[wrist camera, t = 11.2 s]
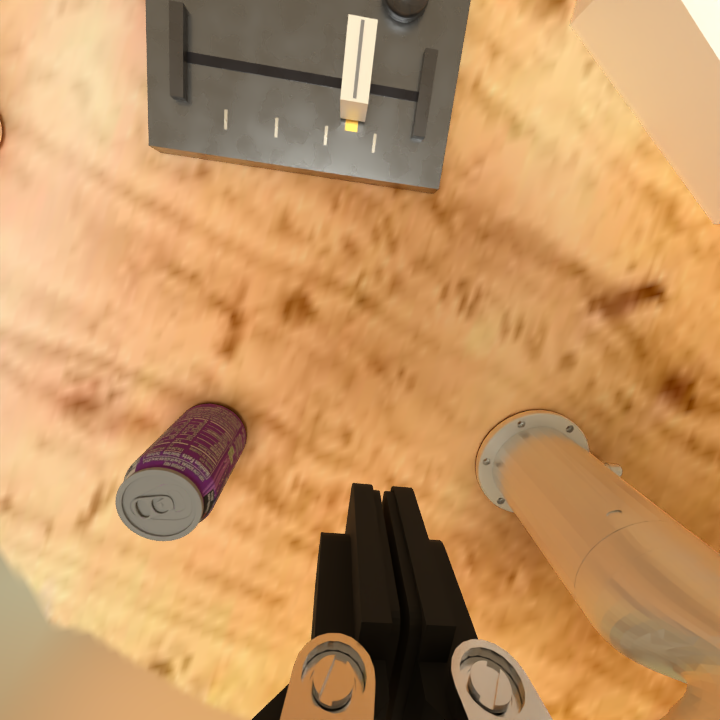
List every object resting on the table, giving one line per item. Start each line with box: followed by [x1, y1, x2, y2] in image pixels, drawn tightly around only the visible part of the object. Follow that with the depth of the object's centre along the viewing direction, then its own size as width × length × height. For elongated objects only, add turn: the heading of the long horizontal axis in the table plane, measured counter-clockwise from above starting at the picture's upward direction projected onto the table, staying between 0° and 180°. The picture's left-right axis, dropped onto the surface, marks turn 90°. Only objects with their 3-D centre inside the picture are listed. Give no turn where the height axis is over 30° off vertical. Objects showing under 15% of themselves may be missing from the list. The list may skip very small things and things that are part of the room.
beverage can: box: [116, 404, 246, 541], centre depth 32 cm, size 7×7×12 cm
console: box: [146, 0, 470, 193], centre depth 28 cm, size 24×16×3 cm, turn 83°
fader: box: [340, 14, 378, 122], centre depth 27 cm, size 2×5×4 cm, turn 173°
